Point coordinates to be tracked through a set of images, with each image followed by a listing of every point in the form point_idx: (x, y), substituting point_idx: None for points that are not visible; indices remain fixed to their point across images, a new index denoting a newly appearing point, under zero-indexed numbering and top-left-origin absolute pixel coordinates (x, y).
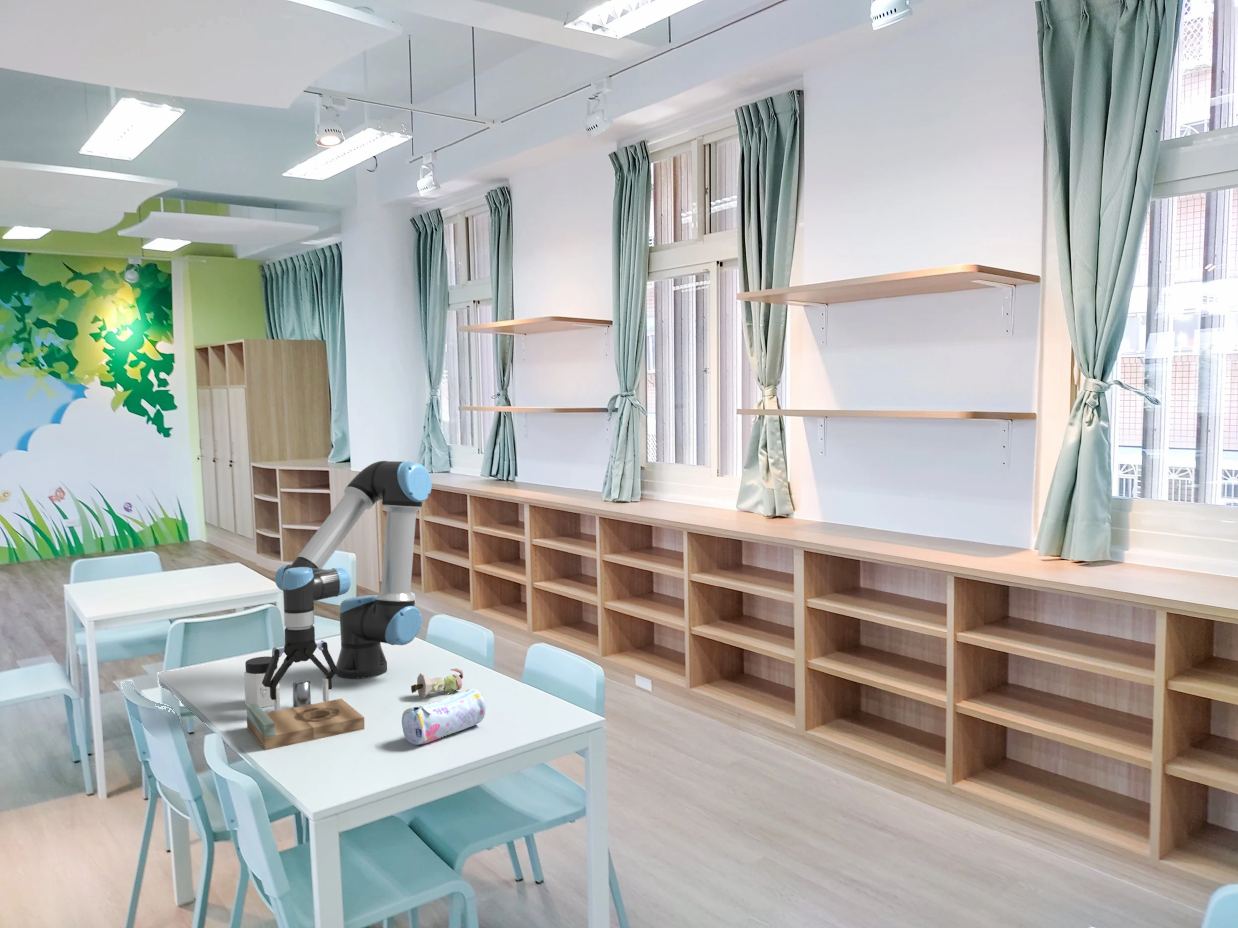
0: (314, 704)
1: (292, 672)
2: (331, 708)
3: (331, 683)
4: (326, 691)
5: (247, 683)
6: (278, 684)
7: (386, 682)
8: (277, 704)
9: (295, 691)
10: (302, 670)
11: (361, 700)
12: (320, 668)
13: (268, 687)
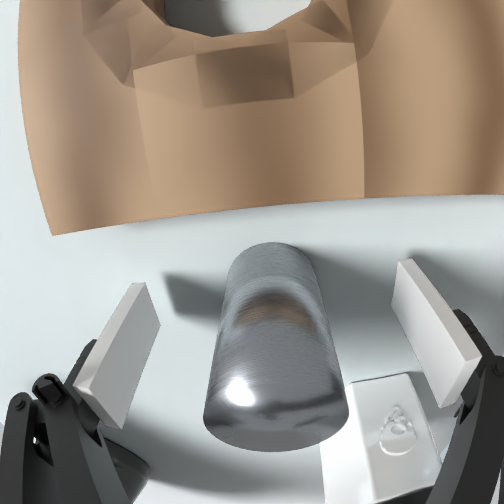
0: (208, 193)
1: (238, 493)
2: (111, 49)
3: (76, 364)
4: (116, 324)
5: (438, 453)
6: (327, 459)
7: (22, 379)
8: (428, 283)
9: (331, 348)
10: (218, 493)
11: (33, 286)
12: (88, 479)
13: (387, 439)
